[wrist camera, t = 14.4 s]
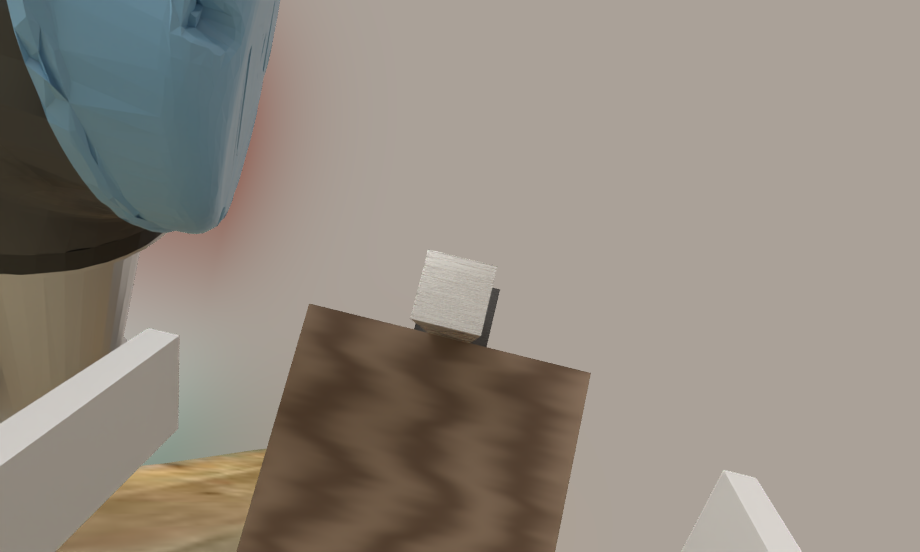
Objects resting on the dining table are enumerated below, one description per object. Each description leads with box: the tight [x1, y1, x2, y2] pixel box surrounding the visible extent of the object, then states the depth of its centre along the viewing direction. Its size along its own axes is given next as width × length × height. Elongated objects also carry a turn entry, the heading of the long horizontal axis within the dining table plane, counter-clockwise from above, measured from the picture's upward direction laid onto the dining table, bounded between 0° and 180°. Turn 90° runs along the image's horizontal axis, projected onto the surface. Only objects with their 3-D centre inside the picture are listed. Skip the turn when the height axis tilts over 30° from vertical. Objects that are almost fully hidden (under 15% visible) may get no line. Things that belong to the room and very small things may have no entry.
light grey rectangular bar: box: [411, 250, 500, 347], centre depth 34 cm, size 6×26×5 cm, turn 1°
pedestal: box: [237, 304, 591, 552], centre depth 42 cm, size 20×20×30 cm
